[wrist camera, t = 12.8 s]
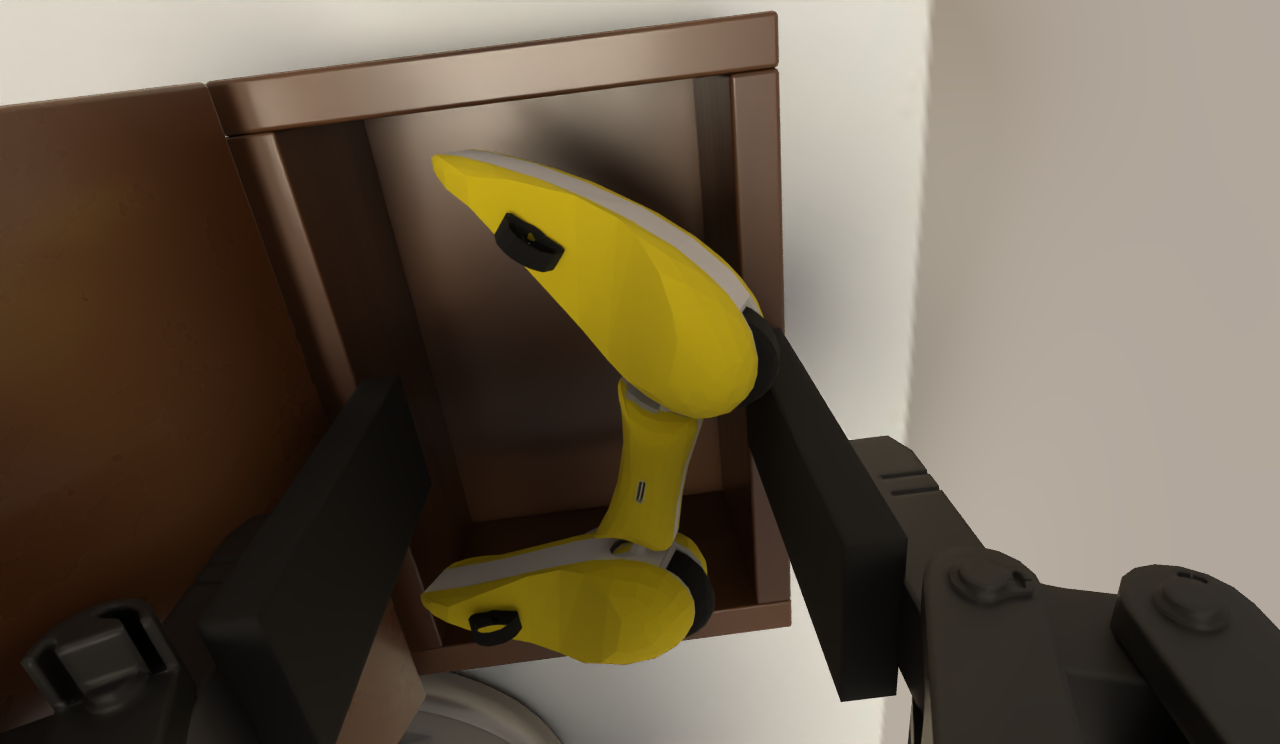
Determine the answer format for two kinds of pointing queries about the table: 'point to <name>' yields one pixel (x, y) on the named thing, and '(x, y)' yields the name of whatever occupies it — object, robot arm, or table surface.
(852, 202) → the table surface
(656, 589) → the yellow curved piece
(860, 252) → the table surface
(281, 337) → the lid
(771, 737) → the table surface
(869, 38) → the table surface
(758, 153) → the chest
